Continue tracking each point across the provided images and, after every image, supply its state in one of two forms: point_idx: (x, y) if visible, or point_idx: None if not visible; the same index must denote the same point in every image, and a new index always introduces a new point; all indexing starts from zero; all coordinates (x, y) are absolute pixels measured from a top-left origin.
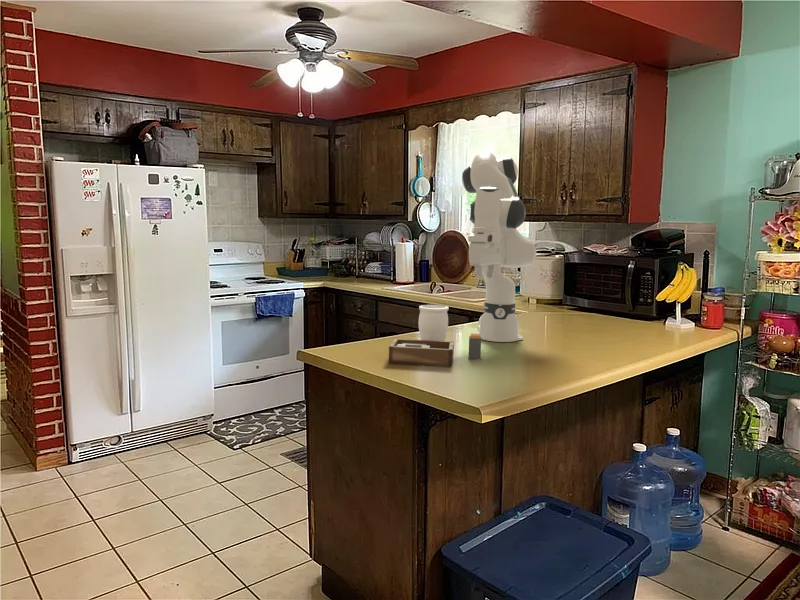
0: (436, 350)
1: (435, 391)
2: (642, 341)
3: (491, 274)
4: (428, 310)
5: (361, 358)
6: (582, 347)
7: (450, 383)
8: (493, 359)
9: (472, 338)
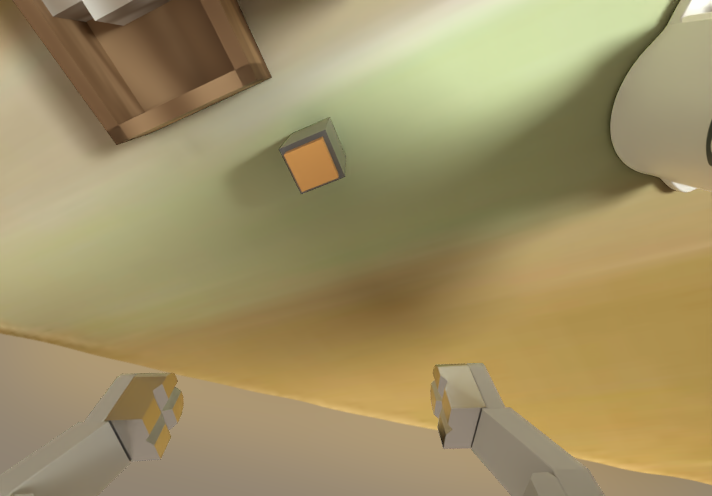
0: (74, 82)
1: None
2: None
3: (440, 428)
4: None
5: None
6: (608, 345)
7: (8, 204)
8: (336, 203)
9: (286, 161)
